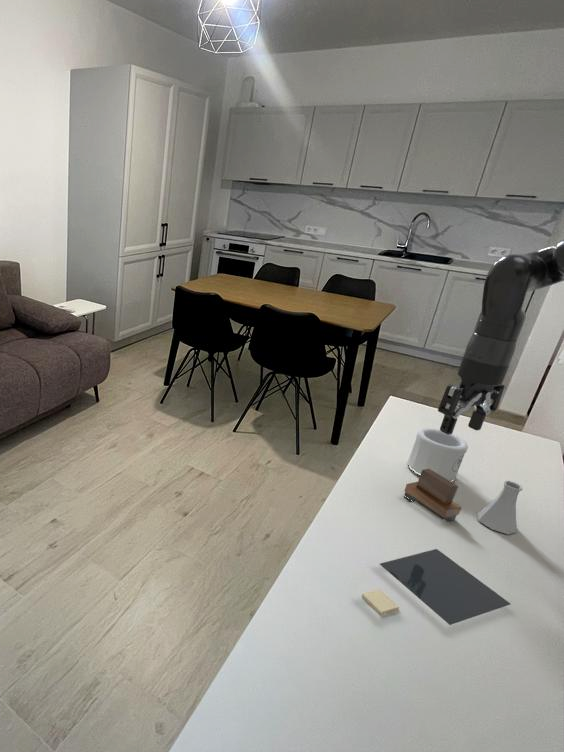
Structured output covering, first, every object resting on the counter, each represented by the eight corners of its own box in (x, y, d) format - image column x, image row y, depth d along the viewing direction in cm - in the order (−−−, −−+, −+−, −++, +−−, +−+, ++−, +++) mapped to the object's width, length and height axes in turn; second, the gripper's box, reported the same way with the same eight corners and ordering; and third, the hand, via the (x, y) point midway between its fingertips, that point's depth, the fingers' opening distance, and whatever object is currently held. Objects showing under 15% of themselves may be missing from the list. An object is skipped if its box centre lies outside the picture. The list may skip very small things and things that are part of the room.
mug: (444, 489, 119) (458, 452, 115) (398, 467, 127) (410, 433, 123) (466, 473, 126) (480, 439, 123) (422, 454, 134) (434, 421, 131)
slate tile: (435, 552, 97) (436, 548, 96) (509, 608, 85) (511, 603, 84) (377, 567, 92) (379, 563, 91) (447, 629, 79) (449, 624, 79)
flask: (471, 521, 107) (488, 482, 104) (481, 509, 112) (497, 471, 108) (511, 539, 102) (530, 499, 99) (520, 526, 107) (538, 487, 103)
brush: (416, 493, 116) (426, 464, 113) (456, 520, 107) (469, 489, 104) (402, 496, 114) (412, 466, 111) (441, 523, 106) (454, 492, 103)
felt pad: (377, 595, 85) (379, 588, 85) (397, 613, 82) (399, 606, 81) (359, 600, 84) (362, 593, 83) (378, 619, 80) (381, 612, 80)
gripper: (481, 366, 92) (452, 443, 98) (530, 362, 97) (500, 435, 103) (443, 353, 98) (419, 425, 104) (492, 349, 103) (466, 419, 109)
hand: (459, 430), depth 103 cm, fingers open, 8 cm apart
